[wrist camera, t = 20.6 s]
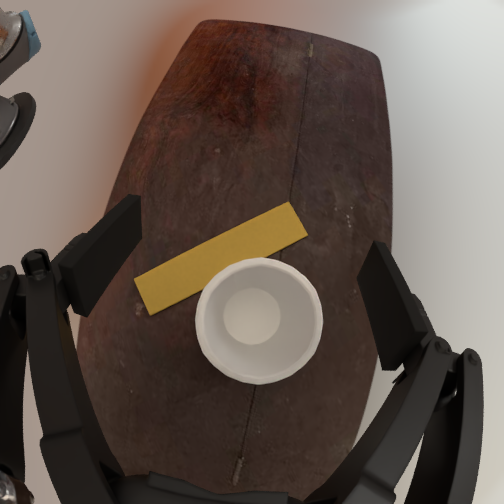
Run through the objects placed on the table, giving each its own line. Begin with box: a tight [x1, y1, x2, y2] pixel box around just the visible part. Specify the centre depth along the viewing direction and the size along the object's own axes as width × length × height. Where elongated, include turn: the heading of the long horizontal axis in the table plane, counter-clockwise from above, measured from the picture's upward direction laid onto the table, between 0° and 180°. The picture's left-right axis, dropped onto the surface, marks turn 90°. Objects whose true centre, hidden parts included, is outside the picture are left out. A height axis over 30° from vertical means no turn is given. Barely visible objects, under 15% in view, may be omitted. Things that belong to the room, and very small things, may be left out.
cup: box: [195, 257, 323, 385], centre depth 27 cm, size 10×10×13 cm
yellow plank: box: [134, 202, 308, 315], centre depth 34 cm, size 22×5×1 cm, turn 118°
